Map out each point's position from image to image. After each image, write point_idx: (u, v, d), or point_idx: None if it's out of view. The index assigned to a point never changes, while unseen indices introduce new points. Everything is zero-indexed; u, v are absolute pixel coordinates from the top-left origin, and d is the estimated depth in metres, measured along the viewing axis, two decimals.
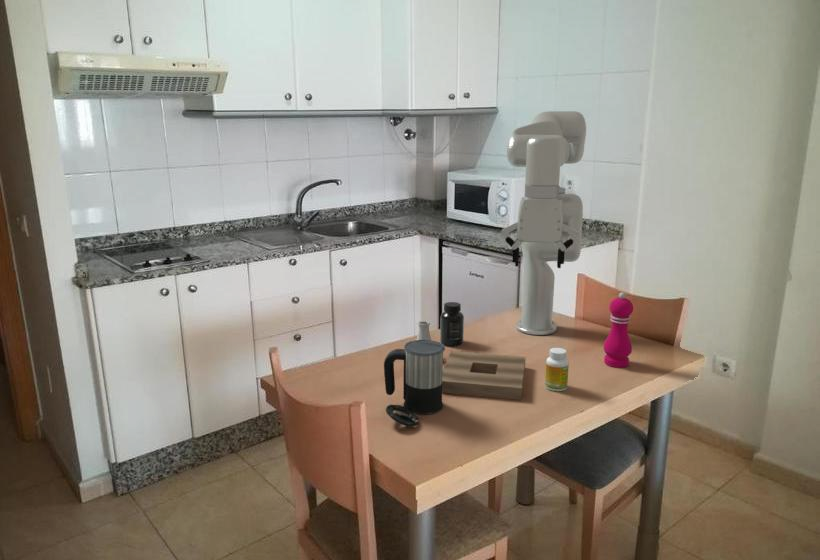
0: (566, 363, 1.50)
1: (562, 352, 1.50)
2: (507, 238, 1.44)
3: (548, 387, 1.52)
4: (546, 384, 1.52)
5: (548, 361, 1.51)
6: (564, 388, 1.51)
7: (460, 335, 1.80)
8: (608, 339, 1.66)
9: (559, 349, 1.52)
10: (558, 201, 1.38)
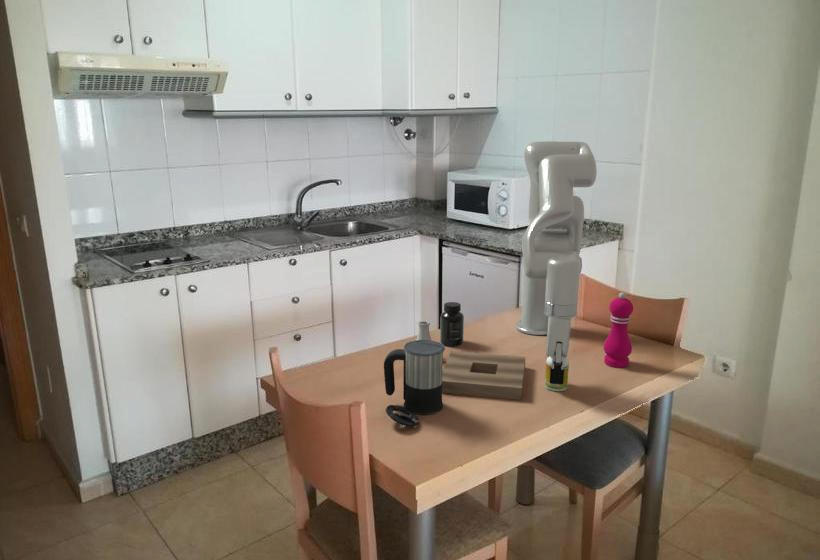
0: (566, 363, 1.50)
1: None
2: (561, 362, 1.46)
3: (548, 387, 1.52)
4: (546, 384, 1.52)
5: (548, 361, 1.51)
6: (564, 388, 1.51)
7: (460, 335, 1.80)
8: (608, 339, 1.66)
9: None
10: None
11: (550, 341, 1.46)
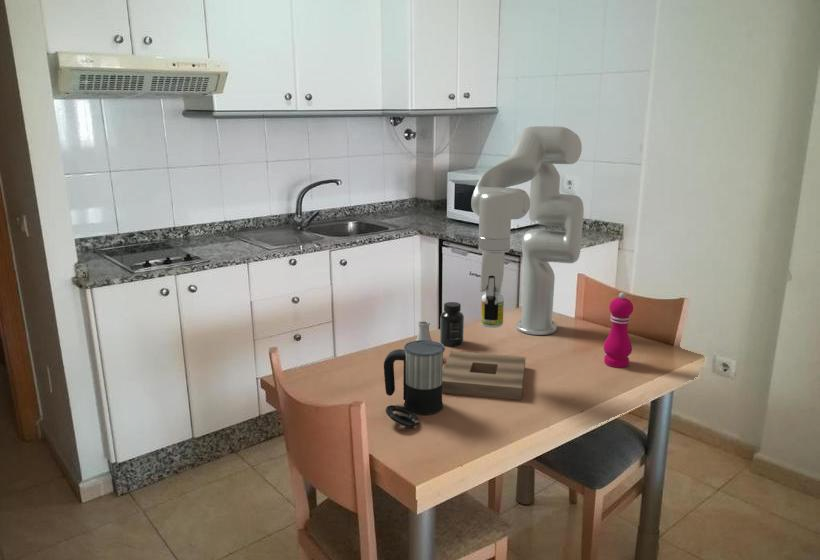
0: (500, 299, 1.50)
1: None
2: (494, 297, 1.47)
3: (483, 324, 1.52)
4: (482, 321, 1.53)
5: (483, 297, 1.51)
6: (499, 324, 1.52)
7: (460, 335, 1.80)
8: (608, 339, 1.66)
9: None
10: None
11: (483, 276, 1.46)
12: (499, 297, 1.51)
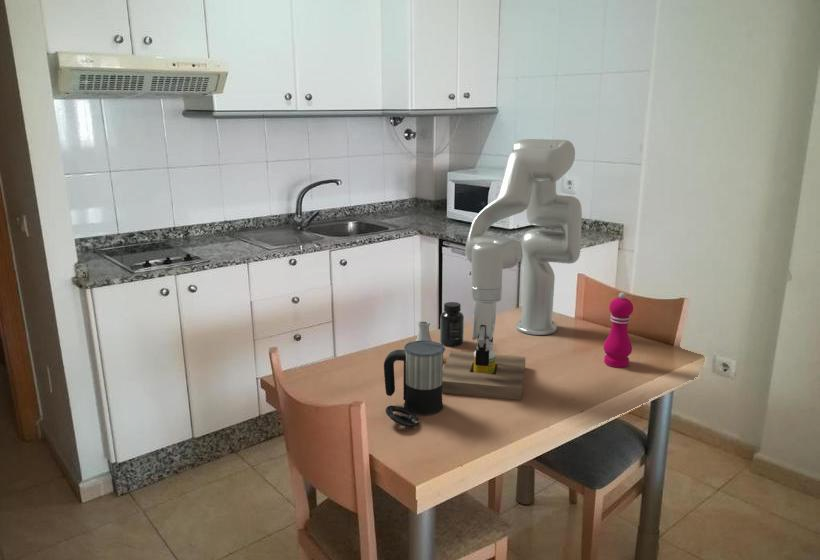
0: (492, 355, 1.55)
1: None
2: (485, 344, 1.48)
3: None
4: None
5: (475, 353, 1.56)
6: None
7: (460, 335, 1.80)
8: (608, 339, 1.66)
9: None
10: None
11: (474, 324, 1.50)
12: (491, 353, 1.55)
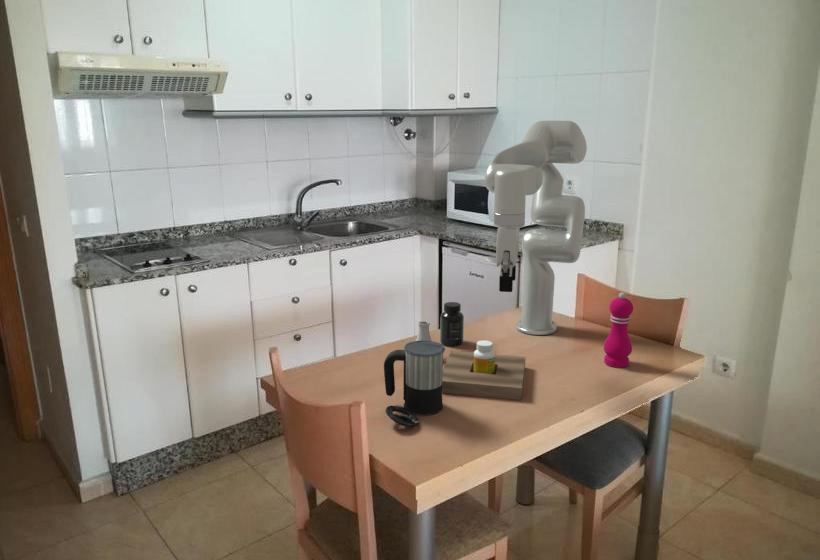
0: (492, 355, 1.55)
1: (488, 344, 1.55)
2: (508, 269, 1.49)
3: None
4: None
5: (475, 353, 1.56)
6: None
7: (460, 335, 1.80)
8: (608, 339, 1.66)
9: (486, 342, 1.57)
10: None
11: (498, 250, 1.51)
12: (490, 353, 1.55)
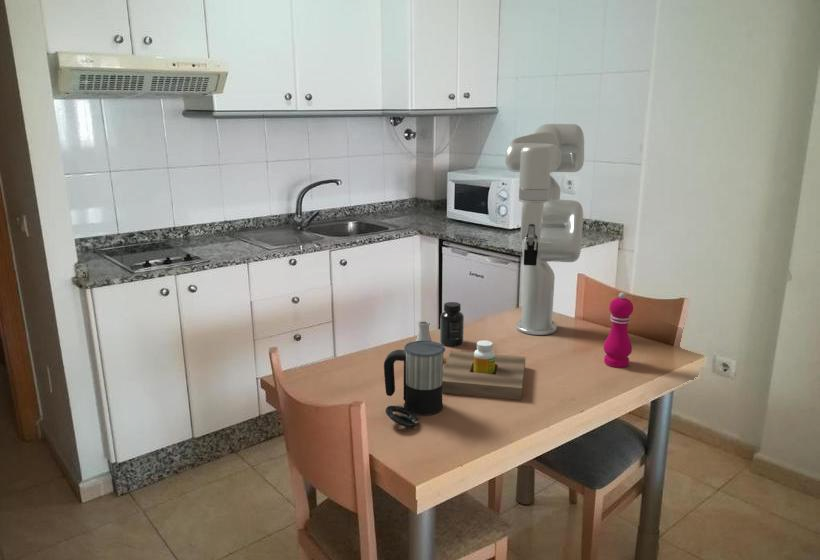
0: (492, 355, 1.55)
1: (488, 344, 1.55)
2: (534, 242, 1.53)
3: None
4: None
5: (475, 353, 1.56)
6: None
7: (460, 335, 1.80)
8: (608, 339, 1.66)
9: (486, 342, 1.57)
10: None
11: (523, 224, 1.55)
12: (491, 353, 1.55)
